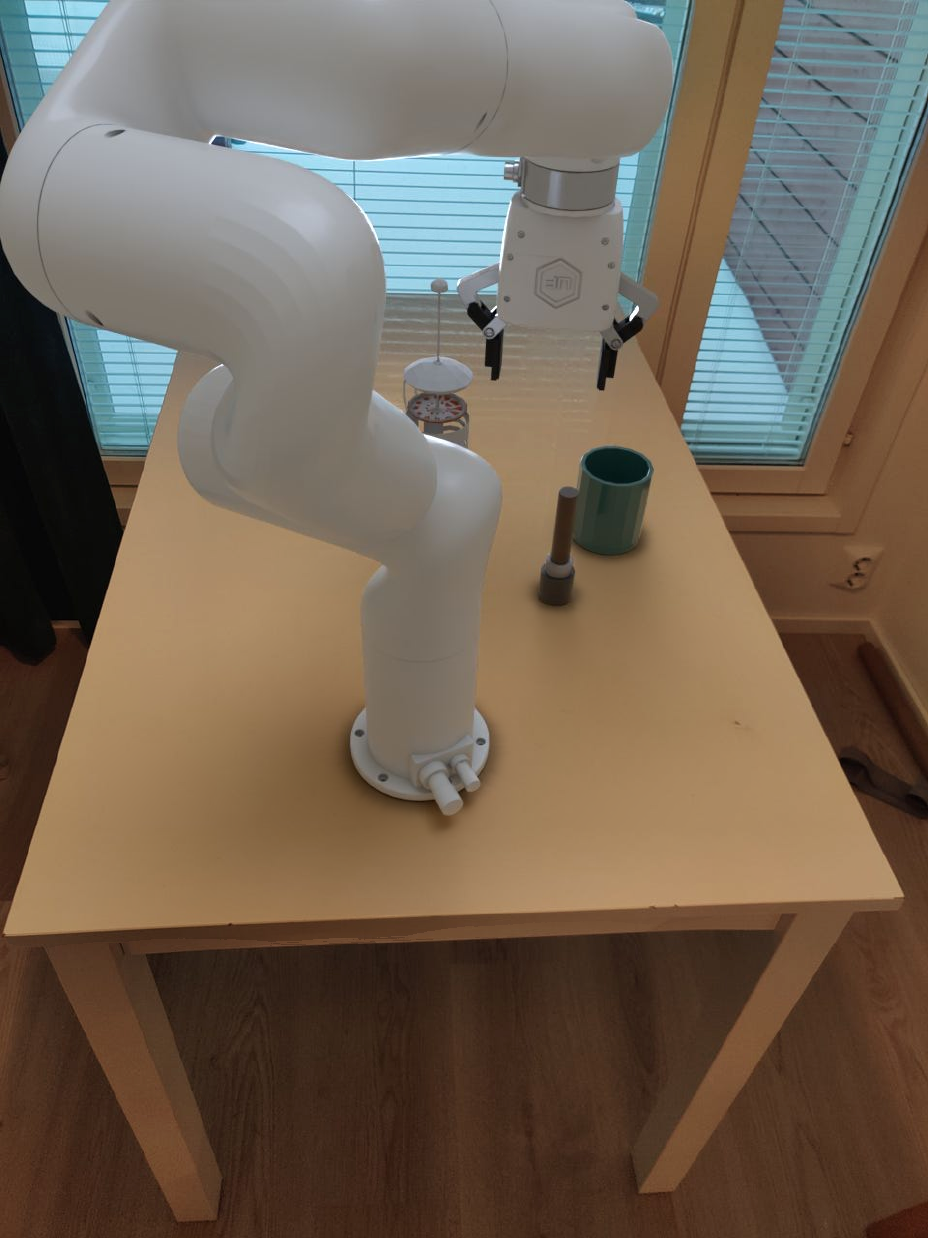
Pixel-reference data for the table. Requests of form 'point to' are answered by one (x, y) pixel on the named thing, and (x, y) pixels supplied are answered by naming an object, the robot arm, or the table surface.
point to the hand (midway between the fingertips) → (548, 378)
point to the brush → (560, 552)
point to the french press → (438, 390)
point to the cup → (611, 499)
